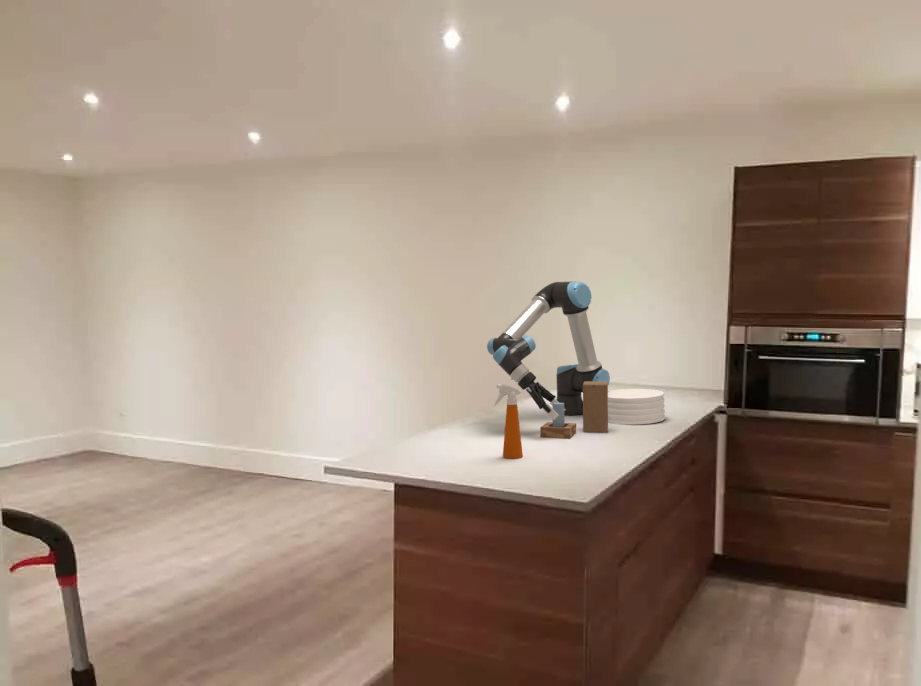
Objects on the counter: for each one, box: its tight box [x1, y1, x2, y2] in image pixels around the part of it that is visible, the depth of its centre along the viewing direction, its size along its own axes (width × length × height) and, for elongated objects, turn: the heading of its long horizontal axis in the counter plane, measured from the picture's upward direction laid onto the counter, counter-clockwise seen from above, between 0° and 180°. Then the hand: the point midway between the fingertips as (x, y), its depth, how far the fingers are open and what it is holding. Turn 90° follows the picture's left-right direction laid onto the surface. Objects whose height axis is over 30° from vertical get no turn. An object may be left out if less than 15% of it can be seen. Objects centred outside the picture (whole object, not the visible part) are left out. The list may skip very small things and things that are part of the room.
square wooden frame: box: [539, 421, 577, 440], centre depth 304 cm, size 12×12×4 cm
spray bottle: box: [492, 383, 524, 460], centre depth 265 cm, size 7×11×26 cm, turn 111°
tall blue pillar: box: [551, 403, 566, 427], centre depth 304 cm, size 4×4×13 cm
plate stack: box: [608, 388, 666, 426], centre depth 337 cm, size 28×28×12 cm
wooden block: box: [582, 381, 609, 433], centre depth 312 cm, size 10×10×20 cm
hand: (560, 414), depth 303 cm, fingers open, 13 cm apart
